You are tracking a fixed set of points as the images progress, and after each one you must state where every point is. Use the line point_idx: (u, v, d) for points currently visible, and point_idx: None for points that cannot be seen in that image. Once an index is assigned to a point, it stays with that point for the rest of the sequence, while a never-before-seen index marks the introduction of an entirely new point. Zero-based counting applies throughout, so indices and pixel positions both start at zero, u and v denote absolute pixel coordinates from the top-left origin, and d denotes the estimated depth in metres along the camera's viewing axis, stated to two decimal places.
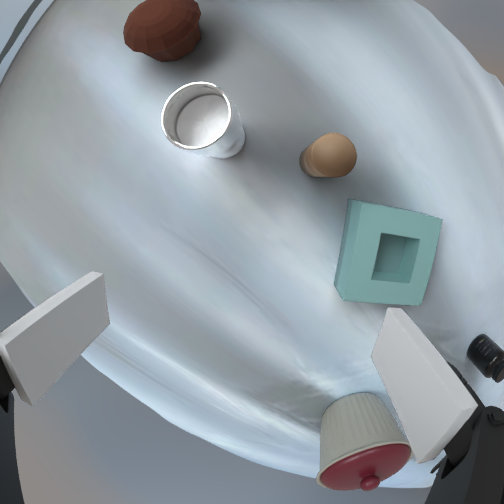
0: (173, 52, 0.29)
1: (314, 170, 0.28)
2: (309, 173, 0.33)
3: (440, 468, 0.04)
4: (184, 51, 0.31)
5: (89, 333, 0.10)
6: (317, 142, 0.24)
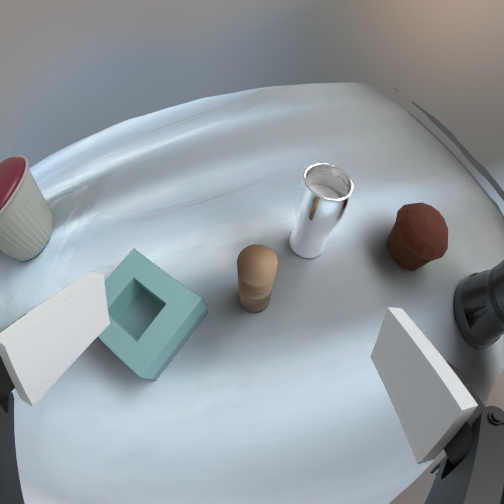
0: (393, 234, 0.42)
1: None
2: None
3: (440, 468, 0.04)
4: (392, 247, 0.43)
5: (89, 333, 0.10)
6: (273, 253, 0.30)
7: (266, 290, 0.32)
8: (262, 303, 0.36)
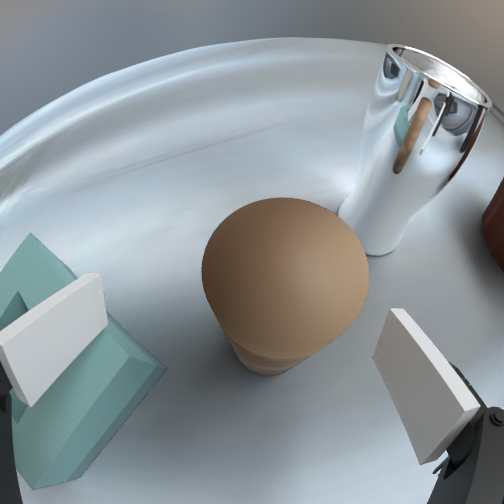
0: (497, 216, 0.18)
1: None
2: None
3: (442, 469, 0.04)
4: (493, 238, 0.20)
5: (87, 333, 0.10)
6: (348, 231, 0.07)
7: (309, 355, 0.09)
8: None
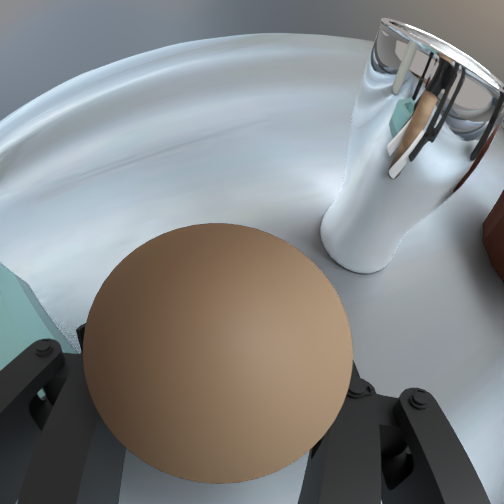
0: (501, 226, 0.16)
1: None
2: None
3: None
4: (496, 249, 0.18)
5: None
6: (321, 282, 0.04)
7: None
8: None
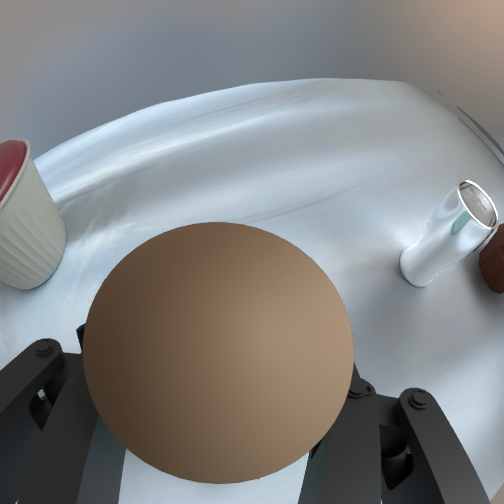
0: (490, 257, 0.30)
1: None
2: None
3: None
4: (487, 269, 0.31)
5: None
6: (322, 281, 0.04)
7: None
8: None
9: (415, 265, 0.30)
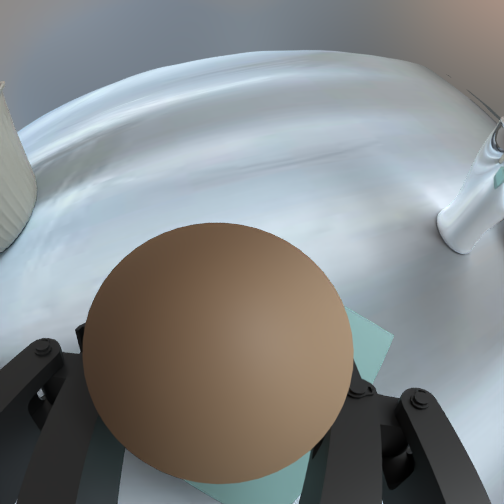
0: None
1: None
2: None
3: None
4: None
5: None
6: (322, 282, 0.04)
7: None
8: None
9: (458, 224, 0.22)
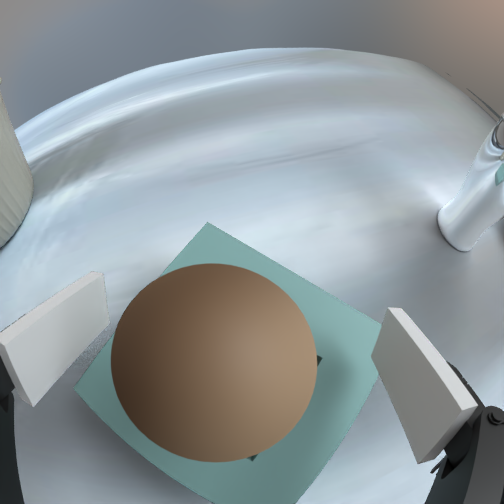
0: None
1: None
2: None
3: (440, 468, 0.04)
4: None
5: (89, 333, 0.10)
6: (294, 312, 0.06)
7: None
8: None
9: (459, 221, 0.21)
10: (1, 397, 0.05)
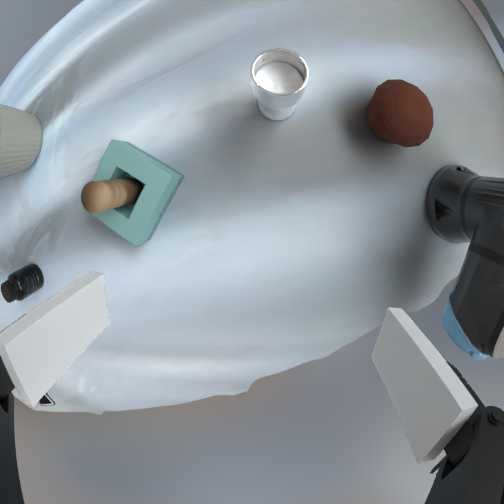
0: (370, 106, 0.35)
1: None
2: None
3: (440, 468, 0.04)
4: (369, 116, 0.38)
5: (89, 333, 0.10)
6: (102, 188, 0.31)
7: (114, 206, 0.35)
8: (127, 203, 0.40)
9: (261, 105, 0.37)
10: (1, 397, 0.05)
